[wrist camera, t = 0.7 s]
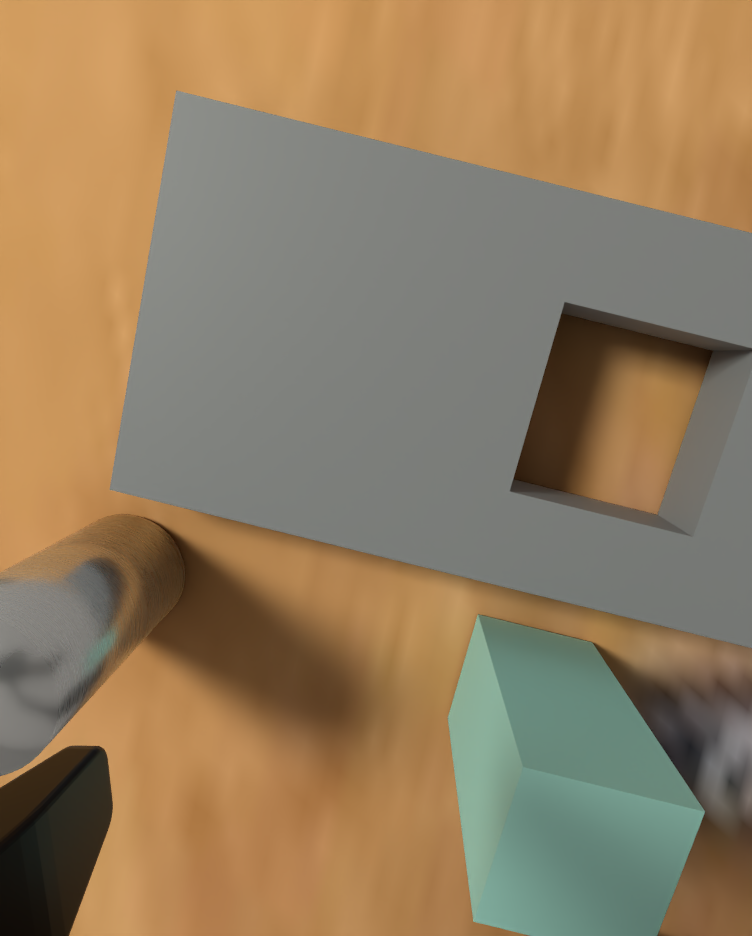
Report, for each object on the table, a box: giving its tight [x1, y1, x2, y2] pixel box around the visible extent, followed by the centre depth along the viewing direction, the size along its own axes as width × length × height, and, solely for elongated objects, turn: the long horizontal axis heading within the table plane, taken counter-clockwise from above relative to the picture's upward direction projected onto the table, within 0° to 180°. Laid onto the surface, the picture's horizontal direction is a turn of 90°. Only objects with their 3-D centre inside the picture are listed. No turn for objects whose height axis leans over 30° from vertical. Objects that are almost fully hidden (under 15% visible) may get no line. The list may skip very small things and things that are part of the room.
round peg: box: [0, 514, 185, 776], centre depth 17 cm, size 4×4×8 cm
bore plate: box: [110, 91, 752, 648], centre depth 18 cm, size 11×20×2 cm, turn 76°
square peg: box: [448, 614, 705, 936], centre depth 18 cm, size 4×4×8 cm
